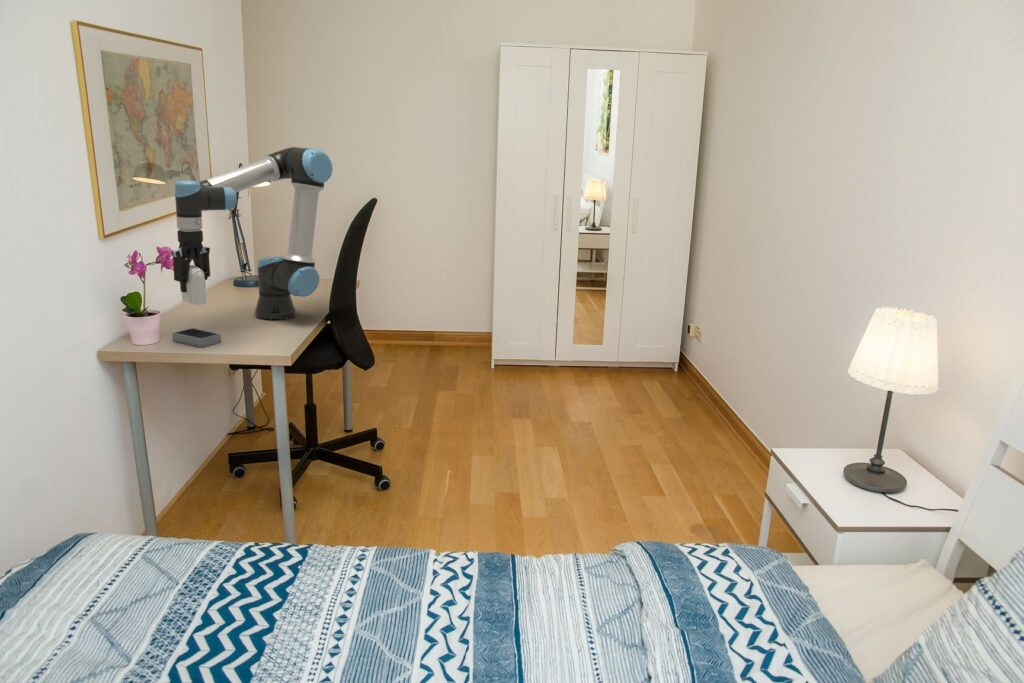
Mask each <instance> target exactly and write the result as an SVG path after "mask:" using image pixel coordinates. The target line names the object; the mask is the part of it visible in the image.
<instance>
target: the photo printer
mask: <svg viewBox="0 0 1024 683" xmlns="http://www.w3.org/2000/svg"><path fill="white" fill-rule="evenodd" d="M187 282H189V284H190V302H188V303H189V304H191V305H196V306H203V305H205V304H206V303H207V298H206V297H207V296H206V294H207V293H206V280H205V276H204V273H203V271H202V270H201V269H200V268H198V267H196V266H195V265H193V264H190V267H189V273H188V279H187ZM182 300H183V298H182Z"/></svg>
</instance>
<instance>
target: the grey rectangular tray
mask: <svg viewBox="0 0 1024 683" xmlns="http://www.w3.org/2000/svg"><path fill="white" fill-rule="evenodd" d="M221 335H222V334H221V333H218V332H213V331H209V330H204V329H199V328H194V327H190V328H186V329H183V330H179V331H174V332H172V342H173V343H179V344H183V345H187V346H191V347H196V348H200V349H203V347H204V348H207V347H210V345H211V346H215V345H218V344H220V343H222V336H221ZM206 346H207V347H206Z"/></svg>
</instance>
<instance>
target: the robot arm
mask: <svg viewBox="0 0 1024 683" xmlns="http://www.w3.org/2000/svg"><path fill="white" fill-rule="evenodd" d="M332 175H333V164H332V161H331V158H330V157H329V156H328V154H327V153H326V152H325V151H323V150H321V149H316V148H310V147H298V146H297V147H296V146H294V147H286V148H284V149H281V150H278V151H275V152H273V153H269V154H266V155H264V156H263V157H262V159H261V160H258V161H256V162H252V163H249V164H246V165H243V166H241V167H237V168H235V169H232V170H230V171H226V172H224V173H220V174H218V175H215V176H212V177H209V178H206V179H203V180H200V181H196V180H178V181H176V182H175V184H174V198H175V200H174V201H175V212H176V217H175V218H176V228H177V233H176V234H177V241H178V243H179V245H178V248H177V249H176V250H171V252H170V253H171V255H172V258H173V260H172V261H173V280H174V281H175V282H179V286H180V292H181V297H182V298H183V299H182V302H184V303H189V302H190V284H189V282H187V279H188V273H189V267H190V265H191V263H192V261H193V264H194V265H193V266H196V267H198V268H200V269H201V270H202V271H203V273H204V276H205V281H207V280H208V279H209V277H211V268H210V266H211V264H210V251H211V247H207V246H204V245H203V244H202V243H203V242H204V235H203V233H204V231H203V230H202V229H203V211H227V210H233V209H234V208H235V207H236V205H237V193H238V192H239V193H240V192H242V191H244V190H247V189H250V188H252V187H254V186H257V185H260V184H263V183H266V182H269V181H272V182H277V181H279V180H286V179H289V180H291V182H290V184H291V186H293V188H294V196H293V203H292V210H291V211H292V212H291V222H290V230H289V239H288V249H287V254H285V255H283V256H282V255H281V256H268V257H262V258H259V260H258V261H257V276H258V277H257V279H258V299H257V303H256V307H255V309H254V317H255V316H256V317H255V318H257V317H258V318H257V319H259V318H262V319H261V320H264V319H270V320H269V321H273V320H272V319H284V320H287V319H286V318H289V319H293V318H294V316H295V315H296V316H297V312H296V310H297V309H296V308H295V306H294V303H293V300H292V296H293V297H299V298H300V297H301V298H305V297H309V296H310V295H312V294H313V293H314V292H316V291H317V288H318V287H319V285H320V275H319V274H320V273H318V270H317V269H315V267H316V266H315V265H316V260H314V259H313V257H312V256H313V247H314V237H315V227H316V220H317V213H318V212H317V211H318V204H319V203H318V202H319V197H320V196H319V195H320V192H322V191H323V190H324V187H325V183H326V182H328V181H329V179H331V176H332ZM296 316H295V317H296ZM292 317H293V318H292Z"/></svg>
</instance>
